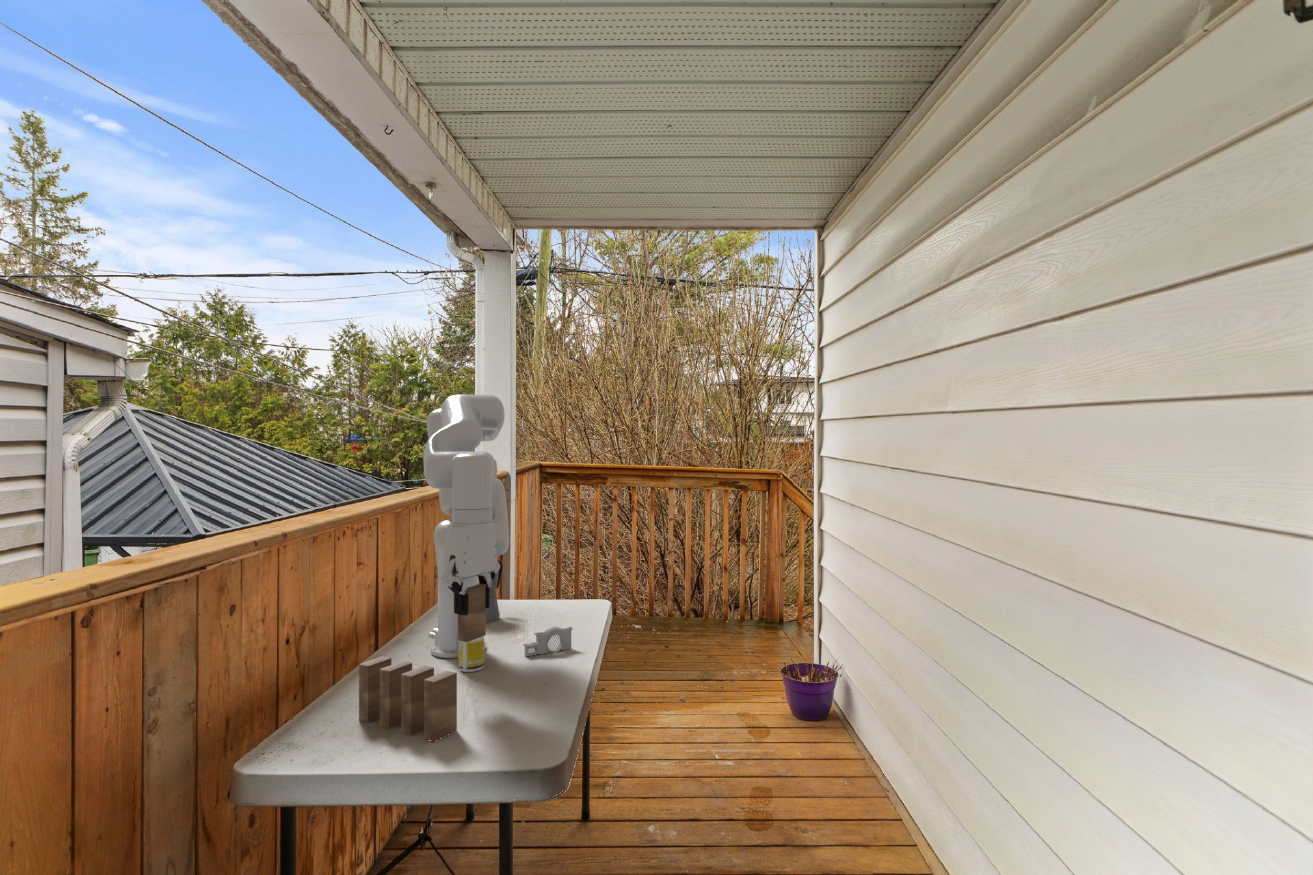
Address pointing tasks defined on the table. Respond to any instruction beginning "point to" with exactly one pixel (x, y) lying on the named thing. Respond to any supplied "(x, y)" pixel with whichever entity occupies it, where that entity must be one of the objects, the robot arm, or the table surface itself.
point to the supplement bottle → (471, 655)
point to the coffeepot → (494, 598)
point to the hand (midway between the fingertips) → (472, 609)
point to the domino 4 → (440, 705)
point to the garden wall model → (544, 639)
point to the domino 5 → (473, 614)
